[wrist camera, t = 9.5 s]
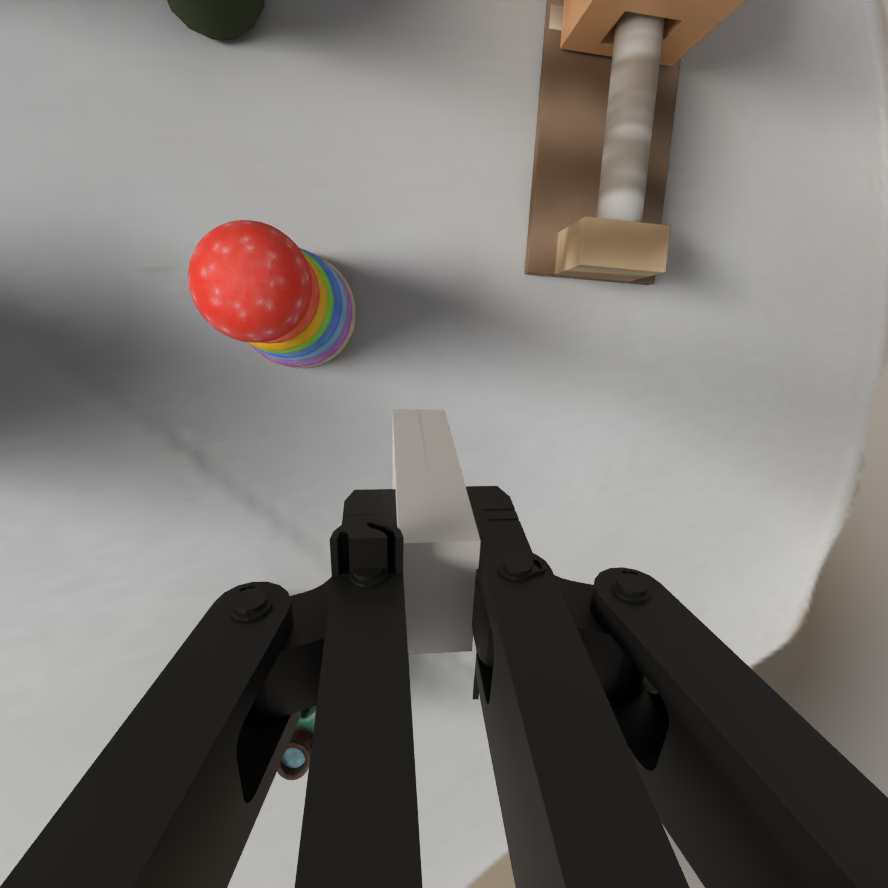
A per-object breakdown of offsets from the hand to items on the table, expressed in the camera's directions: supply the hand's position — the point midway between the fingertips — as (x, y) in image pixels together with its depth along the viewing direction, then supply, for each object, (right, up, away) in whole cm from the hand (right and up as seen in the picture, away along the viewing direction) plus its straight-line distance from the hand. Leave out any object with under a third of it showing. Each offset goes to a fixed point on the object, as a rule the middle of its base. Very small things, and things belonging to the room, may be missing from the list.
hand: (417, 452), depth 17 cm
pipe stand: (+13, +26, +24) cm, 37 cm away
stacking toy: (-10, +10, +24) cm, 27 cm away
